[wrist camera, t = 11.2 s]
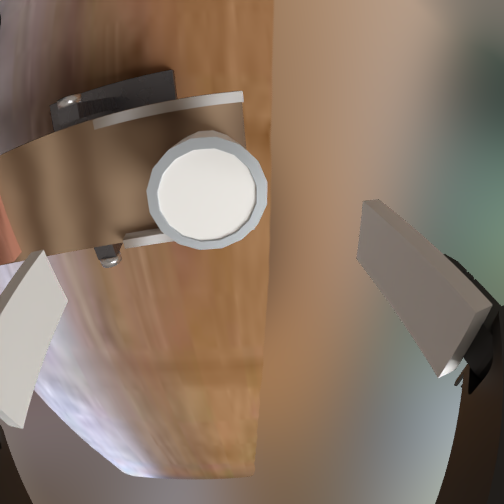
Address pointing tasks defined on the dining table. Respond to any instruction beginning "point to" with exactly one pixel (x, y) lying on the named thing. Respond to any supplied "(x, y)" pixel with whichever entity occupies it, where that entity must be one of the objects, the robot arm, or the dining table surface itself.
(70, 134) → the beam
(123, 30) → the dining table surface
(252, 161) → the shot glass
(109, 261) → the stand
